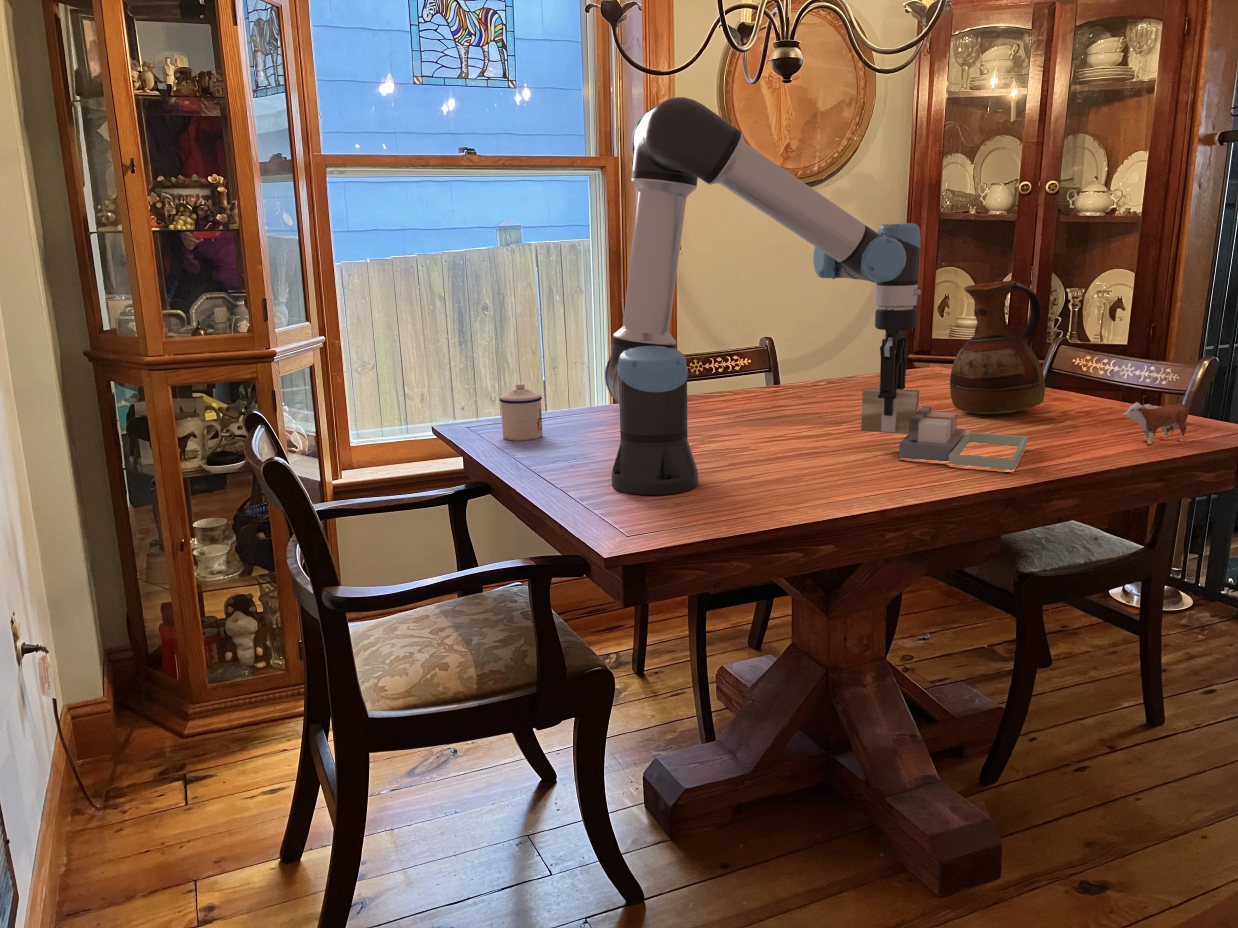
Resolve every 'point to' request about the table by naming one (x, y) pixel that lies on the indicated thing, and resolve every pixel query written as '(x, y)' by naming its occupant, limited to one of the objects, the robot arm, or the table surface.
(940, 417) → the reddish brown block
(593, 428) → the table surface
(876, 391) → the beige slab
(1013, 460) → the tray
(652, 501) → the table surface
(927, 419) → the light grey block
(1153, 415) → the bull figurine
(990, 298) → the ceramic pitcher
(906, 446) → the slate board
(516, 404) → the teacup with lid
